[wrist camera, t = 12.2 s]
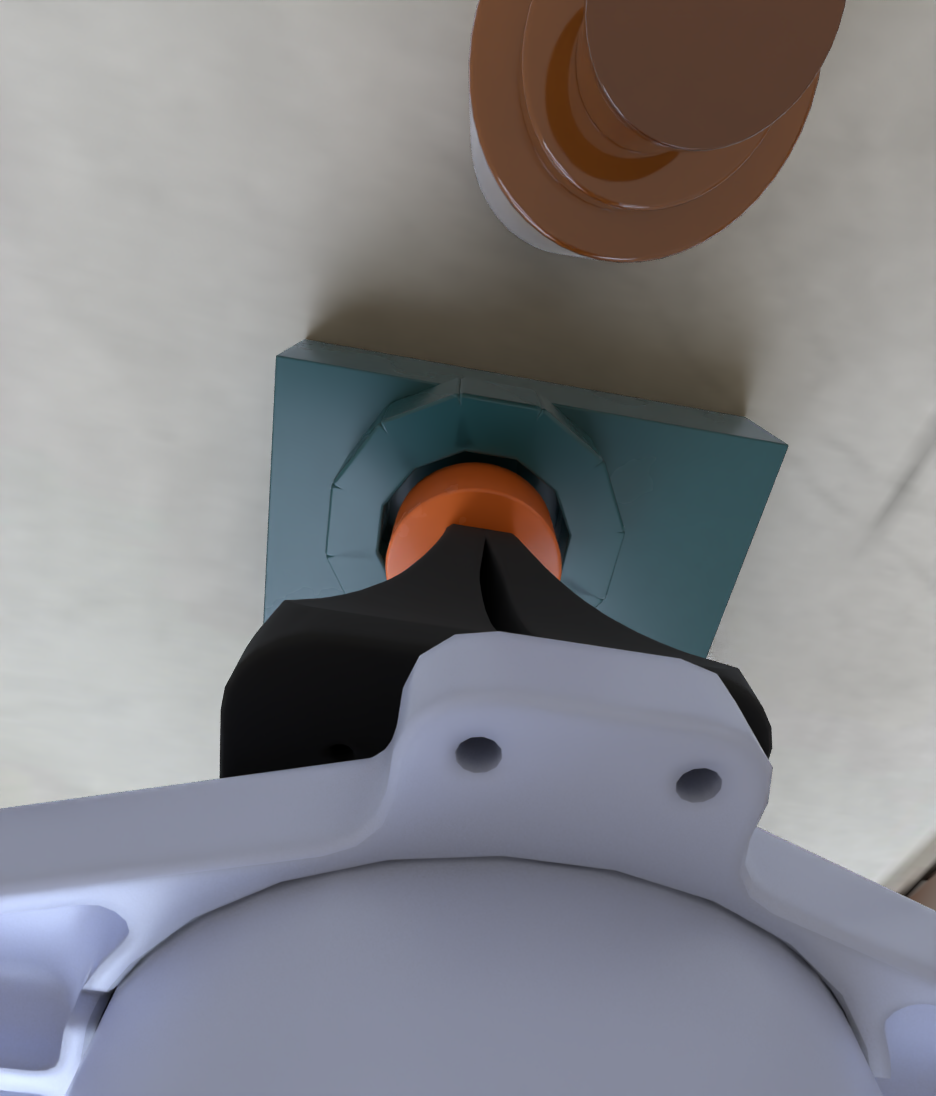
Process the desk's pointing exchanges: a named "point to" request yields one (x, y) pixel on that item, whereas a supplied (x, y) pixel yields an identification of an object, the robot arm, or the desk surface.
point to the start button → (471, 513)
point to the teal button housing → (534, 454)
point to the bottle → (638, 115)
